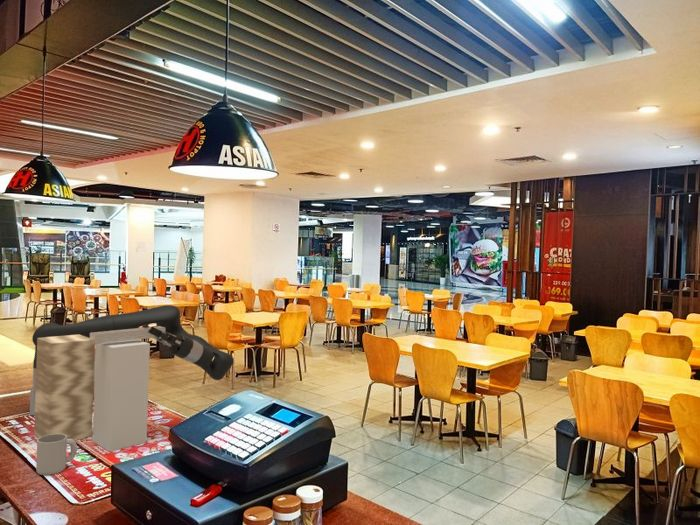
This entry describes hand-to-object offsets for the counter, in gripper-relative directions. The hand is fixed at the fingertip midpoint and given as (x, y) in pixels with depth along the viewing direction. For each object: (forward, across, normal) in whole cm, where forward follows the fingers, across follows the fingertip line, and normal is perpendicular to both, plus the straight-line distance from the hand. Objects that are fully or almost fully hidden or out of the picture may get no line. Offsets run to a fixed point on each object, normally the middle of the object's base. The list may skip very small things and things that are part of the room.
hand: (147, 328), depth 172 cm
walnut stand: (-1, -17, +41) cm, 44 cm away
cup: (+8, +9, +46) cm, 47 cm away
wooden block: (+4, 0, +6) cm, 7 cm away
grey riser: (-11, 0, +35) cm, 37 cm away
